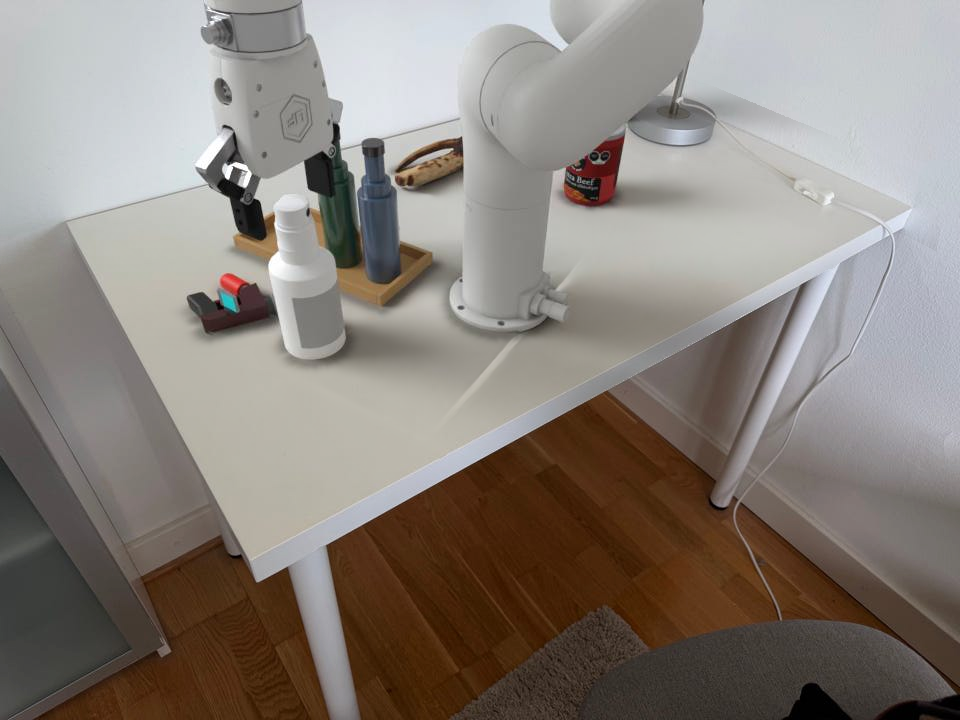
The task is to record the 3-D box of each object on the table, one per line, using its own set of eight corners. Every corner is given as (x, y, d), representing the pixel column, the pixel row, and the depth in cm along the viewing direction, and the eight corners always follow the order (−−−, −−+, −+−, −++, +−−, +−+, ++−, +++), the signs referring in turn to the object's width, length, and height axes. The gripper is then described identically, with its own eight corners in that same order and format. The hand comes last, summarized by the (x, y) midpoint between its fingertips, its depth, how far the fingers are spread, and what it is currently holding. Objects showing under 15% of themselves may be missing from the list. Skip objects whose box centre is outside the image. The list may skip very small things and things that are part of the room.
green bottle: (369, 255, 91) (357, 126, 79) (347, 272, 88) (331, 141, 76) (342, 245, 92) (326, 117, 80) (319, 261, 89) (299, 131, 77)
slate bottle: (408, 270, 88) (401, 139, 76) (387, 288, 85) (376, 155, 73) (380, 259, 90) (369, 130, 78) (358, 276, 87) (343, 144, 75)
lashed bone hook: (452, 147, 117) (370, 180, 107) (452, 120, 114) (368, 151, 104) (492, 164, 112) (411, 200, 102) (493, 136, 109) (409, 170, 99)
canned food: (552, 192, 106) (559, 123, 98) (587, 177, 110) (596, 109, 102) (589, 212, 101) (600, 141, 94) (624, 195, 105) (637, 126, 98)
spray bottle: (333, 367, 75) (311, 225, 63) (275, 358, 76) (241, 215, 64) (354, 328, 80) (337, 189, 68) (299, 320, 81) (272, 181, 69)
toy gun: (305, 314, 82) (299, 281, 79) (201, 343, 78) (190, 309, 75) (282, 272, 88) (276, 239, 85) (185, 296, 84) (174, 263, 81)
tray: (433, 265, 90) (432, 252, 89) (381, 310, 83) (380, 296, 82) (293, 213, 99) (291, 200, 98) (235, 249, 92) (232, 236, 90)
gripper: (208, 65, 48) (252, 267, 60) (361, 9, 60) (374, 188, 71) (136, 44, 51) (191, 241, 63) (295, -6, 62) (318, 169, 74)
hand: (288, 213), depth 67 cm, fingers open, 9 cm apart
